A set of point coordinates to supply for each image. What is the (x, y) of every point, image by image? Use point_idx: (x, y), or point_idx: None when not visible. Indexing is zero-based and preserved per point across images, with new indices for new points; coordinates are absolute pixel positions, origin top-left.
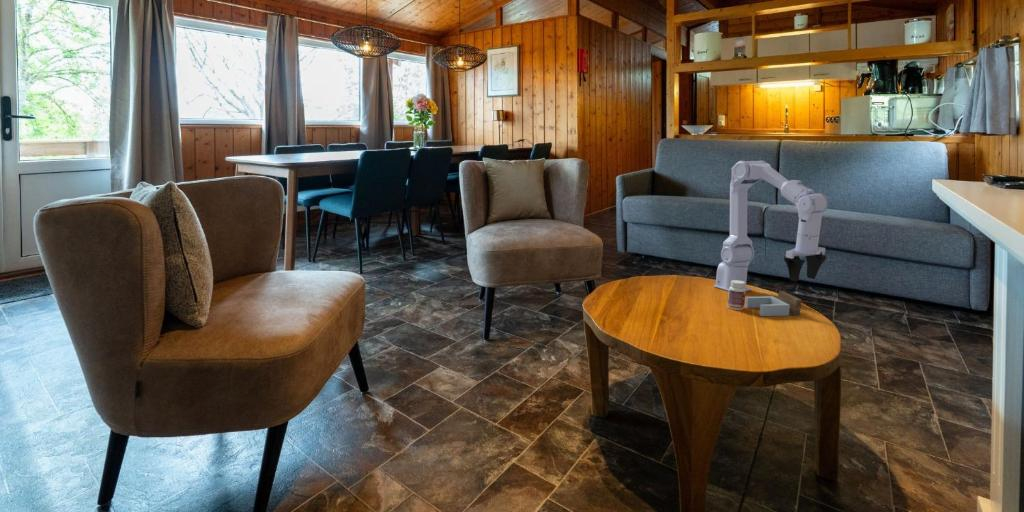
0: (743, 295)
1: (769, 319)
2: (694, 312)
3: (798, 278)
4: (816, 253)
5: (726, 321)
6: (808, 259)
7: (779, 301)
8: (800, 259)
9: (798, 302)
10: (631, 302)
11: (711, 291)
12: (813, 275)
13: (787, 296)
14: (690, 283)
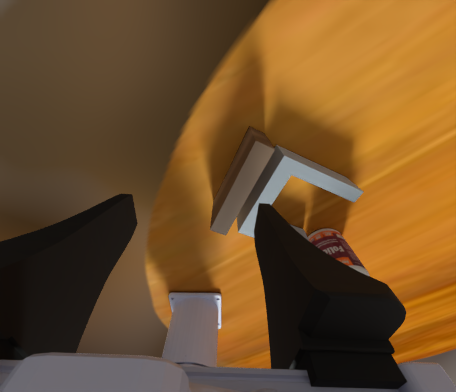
0: (346, 255)
1: (354, 151)
2: (423, 258)
3: (263, 208)
4: (163, 390)
5: (452, 194)
6: (76, 323)
7: (273, 194)
8: (323, 327)
9: (265, 142)
10: (433, 325)
11: (251, 313)
12: (124, 206)
13: (247, 194)
14: (239, 345)
